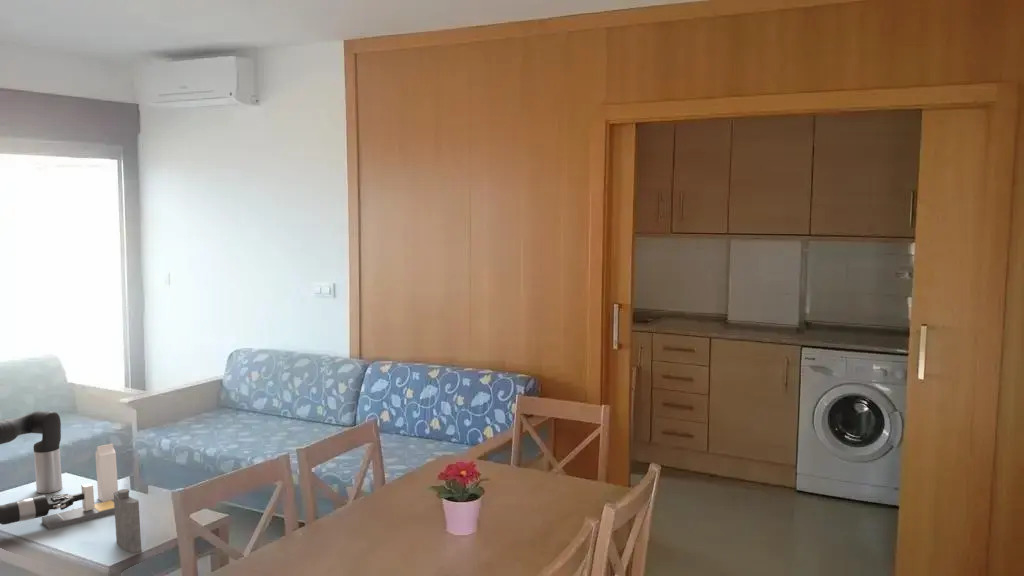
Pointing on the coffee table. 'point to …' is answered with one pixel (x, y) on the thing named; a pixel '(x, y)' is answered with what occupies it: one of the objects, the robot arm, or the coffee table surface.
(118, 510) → the hip flask
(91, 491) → the block
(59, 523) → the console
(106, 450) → the milk
